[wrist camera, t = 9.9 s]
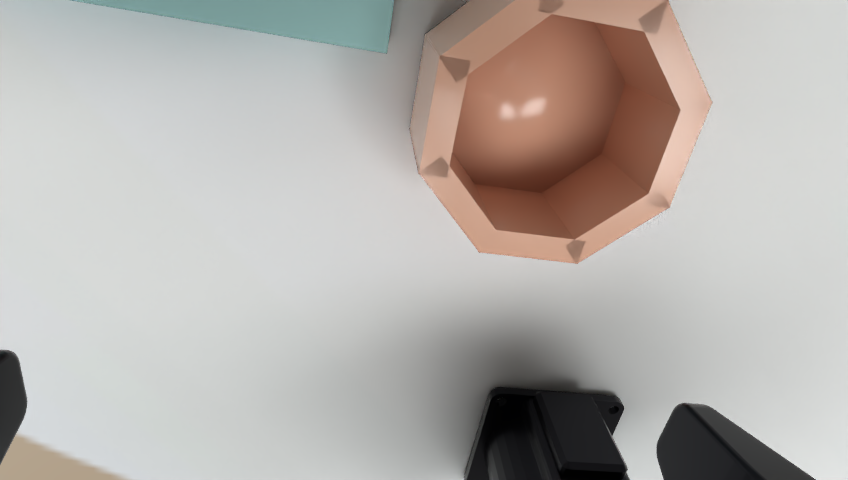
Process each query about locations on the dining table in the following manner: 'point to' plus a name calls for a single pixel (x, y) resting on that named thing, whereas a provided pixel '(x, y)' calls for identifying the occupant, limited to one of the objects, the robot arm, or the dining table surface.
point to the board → (283, 17)
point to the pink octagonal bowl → (556, 121)
